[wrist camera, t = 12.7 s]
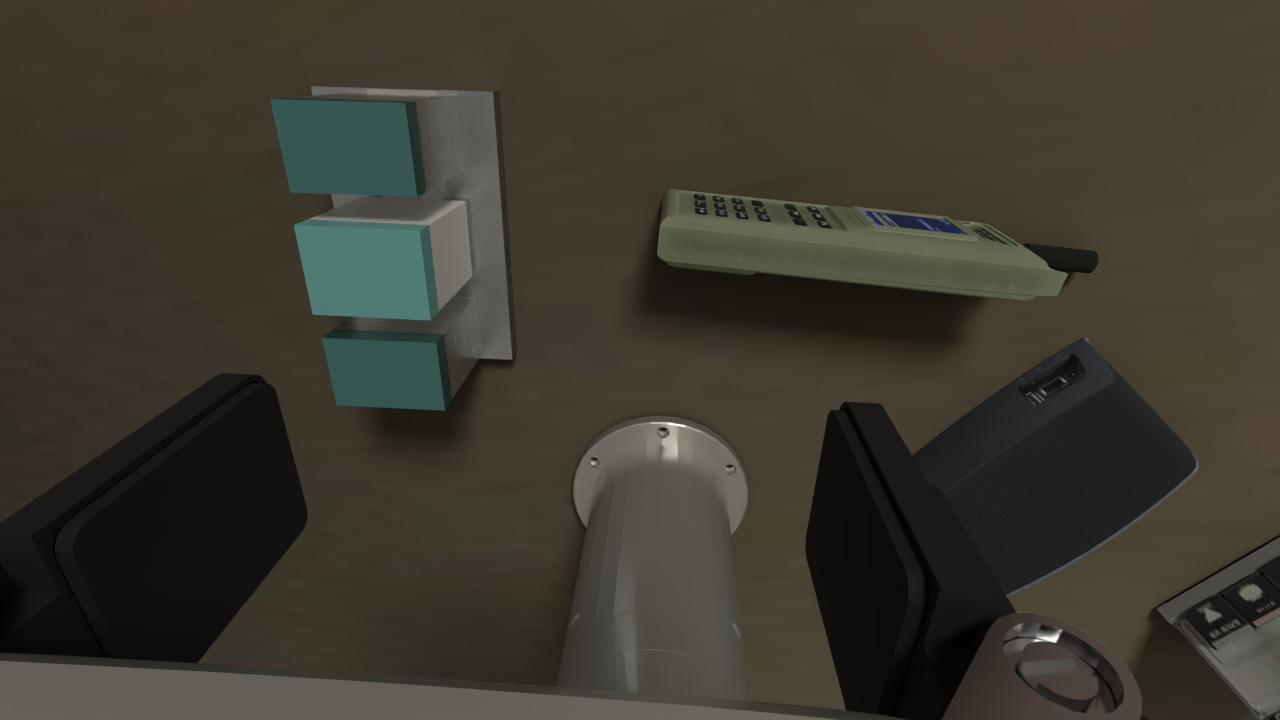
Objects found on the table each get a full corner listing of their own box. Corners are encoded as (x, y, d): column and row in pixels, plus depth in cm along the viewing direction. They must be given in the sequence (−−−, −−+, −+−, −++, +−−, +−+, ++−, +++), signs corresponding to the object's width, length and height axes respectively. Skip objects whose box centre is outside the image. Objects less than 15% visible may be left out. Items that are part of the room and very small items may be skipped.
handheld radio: (665, 179, 36) (1092, 226, 36) (658, 234, 38) (1068, 279, 38) (661, 207, 30) (1173, 264, 30) (654, 271, 32) (1140, 325, 32)
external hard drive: (1185, 444, 42) (1233, 480, 39) (949, 594, 49) (971, 638, 46) (1073, 325, 39) (1115, 353, 35) (837, 504, 46) (851, 543, 42)
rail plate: (516, 352, 41) (481, 415, 34) (369, 345, 42) (302, 407, 34) (498, 90, 34) (449, 98, 27) (322, 85, 35) (225, 92, 27)
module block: (472, 276, 37) (430, 320, 31) (374, 271, 38) (312, 314, 31) (465, 200, 35) (419, 231, 29) (362, 196, 36) (293, 225, 29)
